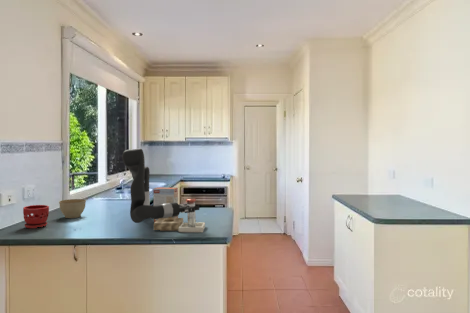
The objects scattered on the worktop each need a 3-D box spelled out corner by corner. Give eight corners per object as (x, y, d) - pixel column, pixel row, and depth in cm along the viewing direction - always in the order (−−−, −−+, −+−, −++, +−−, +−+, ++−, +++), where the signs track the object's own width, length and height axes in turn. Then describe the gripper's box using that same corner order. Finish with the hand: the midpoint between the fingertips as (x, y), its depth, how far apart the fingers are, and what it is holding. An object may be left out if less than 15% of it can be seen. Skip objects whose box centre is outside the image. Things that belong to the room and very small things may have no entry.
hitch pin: (186, 229, 193) (185, 200, 193) (187, 226, 199) (186, 198, 198) (196, 229, 193) (195, 200, 192) (197, 226, 199) (196, 198, 198)
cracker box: (178, 221, 218) (178, 187, 218) (174, 223, 212) (173, 188, 212) (158, 220, 222) (157, 186, 221) (153, 222, 216) (153, 188, 216)
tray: (178, 232, 190) (178, 227, 189) (182, 226, 203) (182, 222, 202) (202, 232, 189) (202, 227, 189) (205, 226, 202) (205, 222, 202)
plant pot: (19, 230, 198) (19, 208, 197) (28, 225, 211) (28, 205, 210) (45, 228, 200) (44, 207, 200) (52, 223, 213) (51, 204, 213)
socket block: (153, 230, 194) (153, 223, 194) (159, 224, 208) (159, 218, 208) (179, 230, 194) (178, 223, 194) (183, 224, 208) (183, 217, 208)
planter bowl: (68, 220, 222) (68, 203, 222) (54, 217, 231) (54, 201, 231) (91, 216, 235) (91, 200, 235) (77, 213, 244) (76, 198, 244)
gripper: (175, 204, 181) (202, 201, 191) (162, 201, 192) (188, 198, 202) (175, 219, 181) (202, 215, 191) (162, 215, 192) (188, 211, 202)
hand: (194, 206), depth 197 cm, fingers open, 8 cm apart
